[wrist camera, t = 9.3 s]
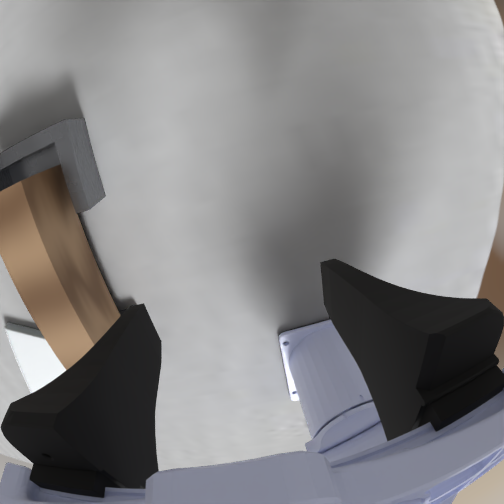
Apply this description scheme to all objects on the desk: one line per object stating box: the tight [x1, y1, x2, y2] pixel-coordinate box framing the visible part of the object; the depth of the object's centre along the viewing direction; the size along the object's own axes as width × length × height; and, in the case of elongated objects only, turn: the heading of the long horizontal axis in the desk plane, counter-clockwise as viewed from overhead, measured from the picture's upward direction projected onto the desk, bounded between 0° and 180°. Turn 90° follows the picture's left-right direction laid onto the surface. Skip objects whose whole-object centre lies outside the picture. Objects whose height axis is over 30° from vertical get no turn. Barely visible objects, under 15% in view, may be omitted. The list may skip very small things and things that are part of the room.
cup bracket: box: [0, 118, 105, 214], centre depth 16 cm, size 6×8×3 cm
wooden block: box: [0, 164, 120, 370], centre depth 17 cm, size 14×4×5 cm, turn 11°
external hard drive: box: [4, 322, 66, 393], centre depth 24 cm, size 2×8×12 cm
